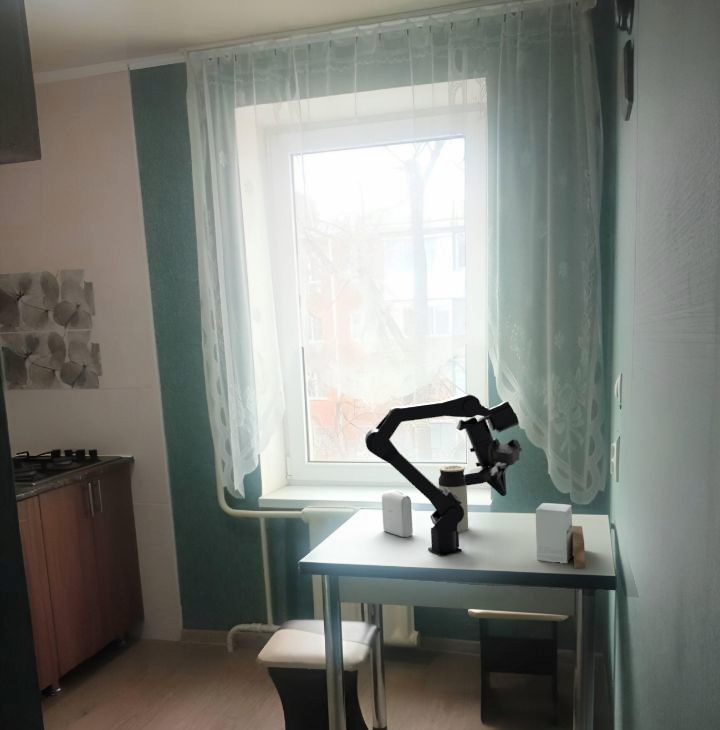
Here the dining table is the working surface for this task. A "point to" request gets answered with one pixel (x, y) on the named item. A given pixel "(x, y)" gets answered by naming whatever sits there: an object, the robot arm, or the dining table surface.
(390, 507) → the photo printer
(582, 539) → the board
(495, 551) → the dining table surface
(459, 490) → the travel mug
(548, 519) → the supplement box
